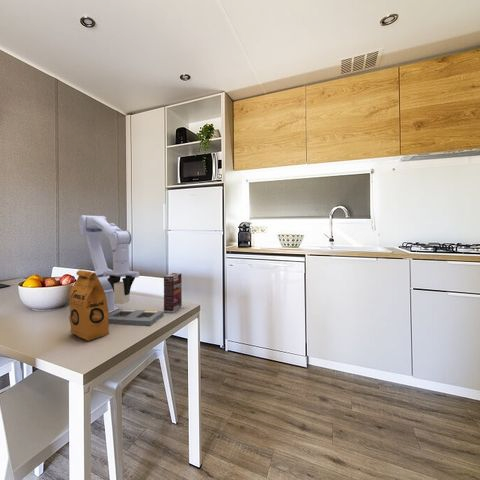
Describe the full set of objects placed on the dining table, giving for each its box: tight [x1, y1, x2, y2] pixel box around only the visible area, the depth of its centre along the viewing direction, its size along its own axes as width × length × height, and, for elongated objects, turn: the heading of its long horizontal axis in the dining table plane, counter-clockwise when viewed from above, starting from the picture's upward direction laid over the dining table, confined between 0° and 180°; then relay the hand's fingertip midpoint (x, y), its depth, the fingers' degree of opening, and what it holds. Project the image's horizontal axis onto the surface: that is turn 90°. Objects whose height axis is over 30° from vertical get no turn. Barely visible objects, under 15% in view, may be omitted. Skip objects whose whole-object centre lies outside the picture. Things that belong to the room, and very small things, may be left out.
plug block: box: [114, 280, 131, 305], centre depth 97 cm, size 4×4×8 cm
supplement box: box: [163, 272, 183, 314], centre depth 108 cm, size 9×5×16 cm, turn 168°
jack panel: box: [108, 308, 165, 327], centre depth 97 cm, size 20×11×2 cm, turn 82°
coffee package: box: [68, 269, 110, 342], centre depth 83 cm, size 10×12×22 cm
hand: (121, 294), depth 97 cm, fingers closed on plug block, 4 cm apart
